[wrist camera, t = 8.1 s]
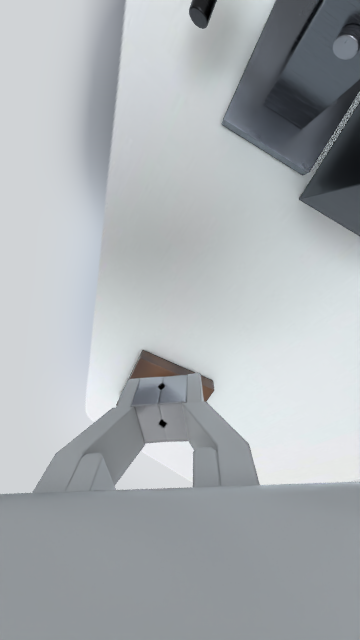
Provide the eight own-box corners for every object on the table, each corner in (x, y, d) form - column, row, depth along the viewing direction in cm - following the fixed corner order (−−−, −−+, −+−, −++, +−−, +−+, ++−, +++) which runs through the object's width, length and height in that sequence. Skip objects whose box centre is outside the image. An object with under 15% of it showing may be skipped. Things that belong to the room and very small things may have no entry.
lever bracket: (221, 124, 22) (255, 12, 11) (282, -12, 19) (440, -421, 7) (302, 175, 24) (413, 126, 12) (374, 58, 20) (639, -183, 8)
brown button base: (120, 395, 37) (112, 414, 33) (143, 349, 33) (136, 365, 29) (184, 421, 38) (183, 442, 35) (213, 380, 35) (215, 399, 31)
